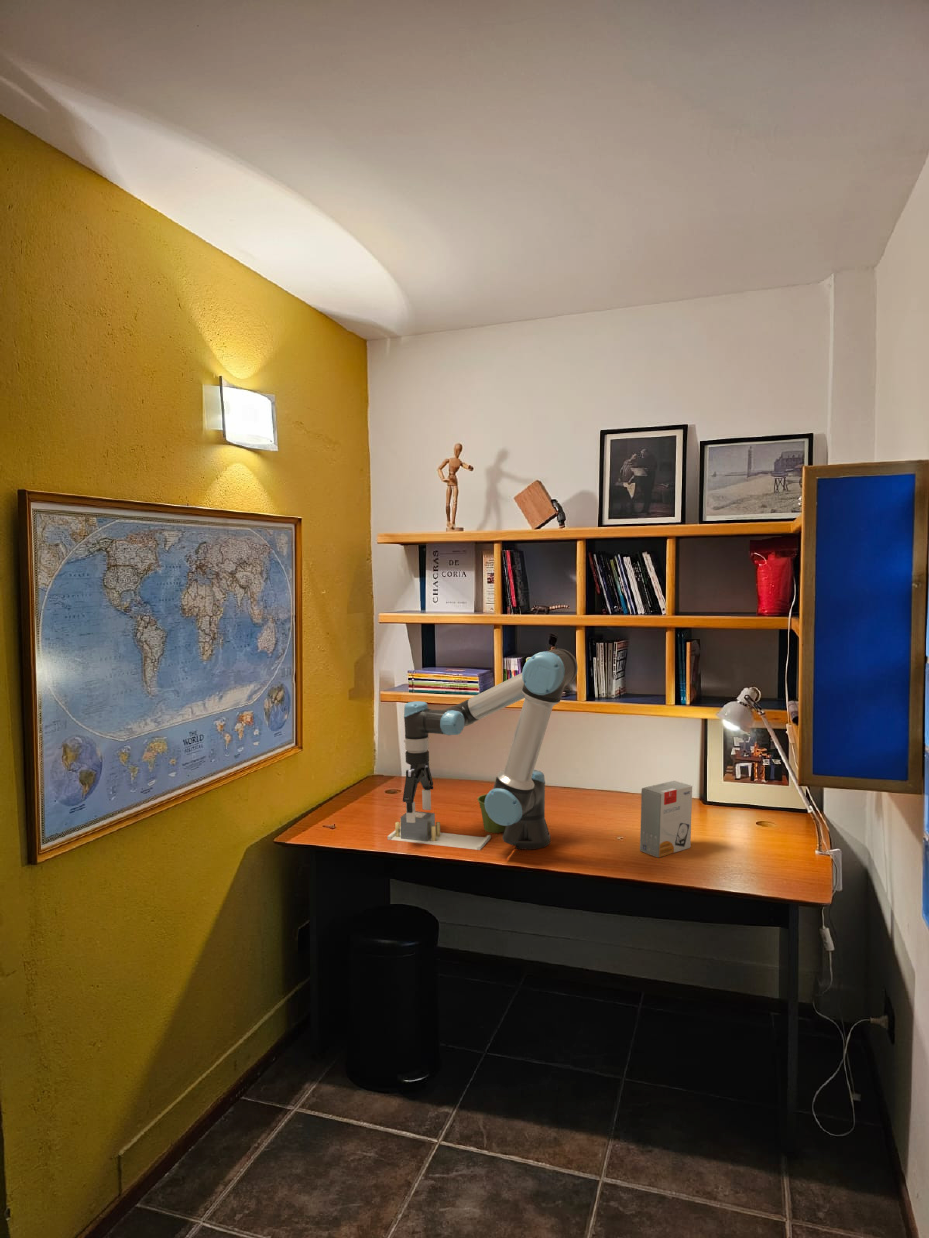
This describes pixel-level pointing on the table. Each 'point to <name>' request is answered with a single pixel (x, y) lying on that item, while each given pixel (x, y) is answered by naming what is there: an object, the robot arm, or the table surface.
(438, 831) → the tray
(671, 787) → the hard drive box
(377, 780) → the table surface
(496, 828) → the plant pot
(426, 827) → the block
